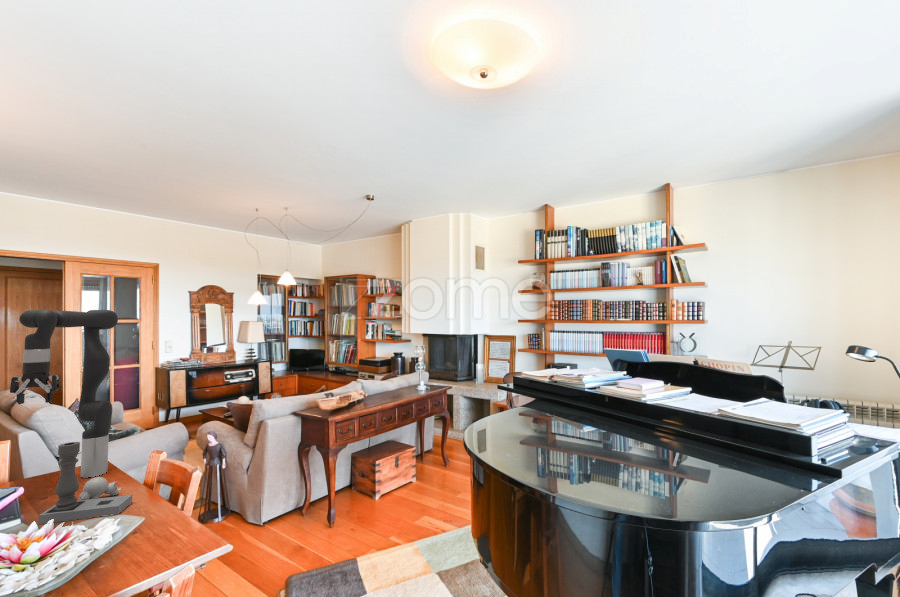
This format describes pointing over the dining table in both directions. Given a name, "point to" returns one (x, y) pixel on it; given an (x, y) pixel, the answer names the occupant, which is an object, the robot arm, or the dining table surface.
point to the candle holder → (67, 477)
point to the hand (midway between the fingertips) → (34, 403)
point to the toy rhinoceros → (98, 488)
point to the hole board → (88, 509)
